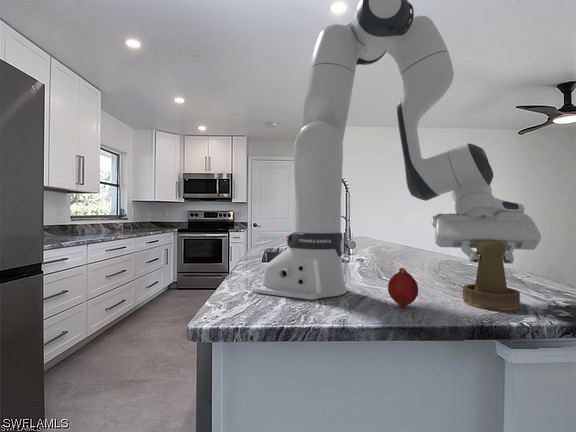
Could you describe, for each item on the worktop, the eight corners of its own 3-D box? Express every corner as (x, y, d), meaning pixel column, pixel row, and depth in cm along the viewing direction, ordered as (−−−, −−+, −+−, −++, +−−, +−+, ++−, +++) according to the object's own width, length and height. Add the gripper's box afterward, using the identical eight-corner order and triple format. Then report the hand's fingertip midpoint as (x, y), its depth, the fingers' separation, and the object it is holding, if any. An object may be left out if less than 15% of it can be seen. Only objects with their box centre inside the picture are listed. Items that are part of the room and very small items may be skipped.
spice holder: (470, 308, 65) (470, 293, 65) (458, 296, 74) (458, 282, 74) (528, 312, 62) (528, 296, 62) (508, 299, 72) (508, 285, 72)
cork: (513, 297, 65) (514, 241, 65) (480, 295, 66) (480, 241, 66) (500, 290, 71) (500, 239, 71) (469, 288, 72) (470, 239, 72)
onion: (393, 301, 70) (393, 264, 70) (421, 306, 66) (421, 267, 66) (383, 307, 65) (384, 267, 65) (413, 313, 62) (414, 270, 62)
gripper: (432, 204, 78) (439, 250, 68) (531, 204, 72) (554, 253, 63) (429, 223, 82) (435, 267, 72) (522, 223, 77) (542, 272, 67)
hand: (491, 261), depth 68 cm, fingers closed on cork, 5 cm apart
